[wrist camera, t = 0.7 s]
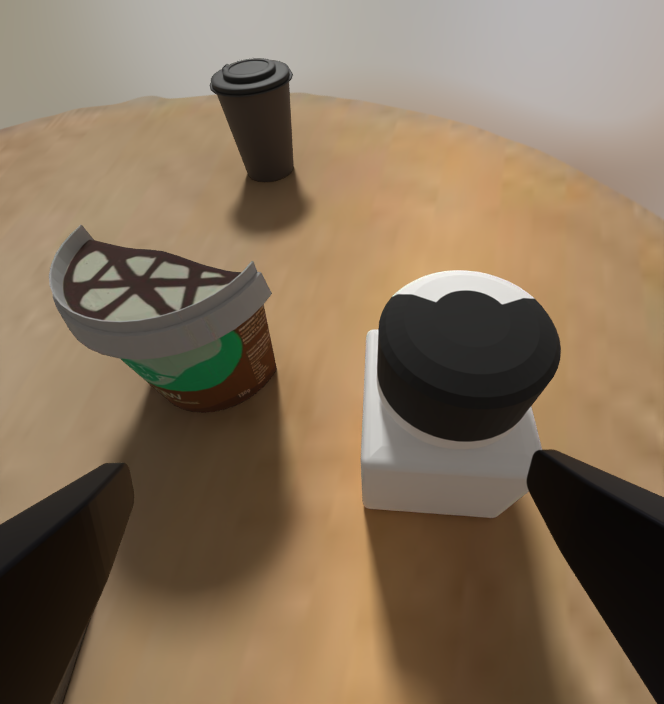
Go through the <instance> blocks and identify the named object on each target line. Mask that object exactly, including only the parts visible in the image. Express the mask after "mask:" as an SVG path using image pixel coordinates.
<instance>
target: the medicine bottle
mask: <svg viewBox="0 0 664 704" xmlns="http://www.w3.org/2000/svg"><path fill="white" fill-rule="evenodd" d="M560 353H561V347H560V340H559V336H558V333H557V330H556V328H555V326H554V324H553V322H552V320H551V319H550V317H549V315H548V314H547V313H546V311H545V310H544V308H543V307H542V306H541V305H540V304H539V303H538V302H537V301H536V300H535V299H534V298H533V297H532V296H531V295H530V294H528V293H527V292H526V291H524V290H523V289H521V288H520V287H518V286H516V285H514V284H512V283H511V282H509V281H506V280H504V279H501V278H499V277H496V276H493V275H489V274H485V273H480V272H474V271H462V270H454V271H443V272H437V273H433V274H430V275H426V276H424V277H421V278H419V279H417V280H415V281H413V282H411V283H409V284H407V285H406V286H404V287H403V288H401V289H400V290H399V291H397V292H396V293H395V294H394V295H393V296H392V297H391V299H390V300H389V301H388V303H387V304H386V306H385V308H384V310H383V311H382V314H381V317H380V321H379V329H378V330H370V331H369V332H368V334H367V336H366V355H365V377H364V399H363V421H362V443H361V478H362V501H363V505H364V506H365V507H366V508H369V509H380V510H393V511H406V512H420V513H433V514H446V515H459V516H472V517H486V518H495V517H497V516H498V515H500V514H501V513H502V512H503V511H505V510H506V509H507V508H508V507H510V506H511V505H512V504H514V503H515V502H516V501H517V500H519V499H520V498H521V497H522V496H524V495H525V494H526V493H527V492H529V490H528V488H527V483H526V479H527V475H528V471H529V467H530V463H531V460H532V456H533V454H534V452H535V451H537V450H542V447H541V443H540V439H539V435H538V431H537V427H536V423H535V419H534V415H533V411H532V407H531V406H532V404H533V403H534V402H535V400H536V399H537V398H538V396H539V395H540V394H541V393H542V391H543V390H544V389H545V387H546V386H547V385H548V383H549V382H550V381H551V380H552V378H553V377H554V375H555V373H556V371H557V369H558V365H559V361H560Z"/></svg>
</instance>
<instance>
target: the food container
mask: <svg viewBox="0 0 664 704" xmlns="http://www.w3.org/2000/svg"><path fill="white" fill-rule="evenodd" d="M49 282H50V288H51V290H52V293H53V299H54V302H55V305H56V307H57V309H58V311H59V313H60V314H61V316H62V318H63V319H64V321H65V323H66V324H67V326H68V328H69V330H70V331H71V332H72V334H73V335H74V336H75V337H76V339H77V340H78V341H79V342H81V343H82V344H84V345H85V346H86V347H88V348H89V349H91V350H94V351H96V352H98V353H100V354H103V355H107V356H111V357H116V358H120V359H121V360H122V361H123V362H125V363H126V364H127V365H128V366H129V367H130V368H132V369H133V370H134V371H135V372H136V373H137V374H139V375H140V376H141V377H142V378H143V379H144V380H146V381H147V382H148V383H149V384H150V385H151V386H153V387H154V388H155V389H156V390H157V391H158V392H160V393H161V394H162V395H163V396H164V397H165V398H167V399H168V400H169V401H170V402H171V403H173V404H174V405H175V406H177V407H179V408H182V409H184V410H188V411H192V412H214V411H219V410H224V409H227V408H230V407H233V406H235V405H237V404H239V403H241V402H243V401H245V400H247V399H248V398H250V397H251V396H253V395H254V394H256V393H257V392H258V391H259V390H260V389H261V388H262V387H264V385H265V384H266V383H267V382H268V381H269V380H270V379H271V377H272V376H273V374H274V373H275V371H276V369H277V368H276V363H275V358H274V353H273V348H272V343H271V338H270V333H269V329H268V324H267V319H266V314H265V309H264V303H265V302H266V300H267V299H268V298H269V297H270V295H271V294H272V293H271V291H270V289H269V287H268V285H267V283H266V281H265V279H264V277H263V275H262V273H261V272H257V270H256V267H255V265H254V262H253V261H252V262H251V263H250V264H249V265H248V266H247V267H246V268H245V269H244V271H243V272H242V273H241V272H231V271H225V270H221V269H217V268H213V267H209V266H206V265H202V264H199V263H196V262H194V261H191V260H188V259H185V258H182V257H180V256H177V255H173V254H170V253H167V252H163V251H156V250H146V249H133V248H125V247H120V246H116V245H111V244H107V243H103V242H99V241H95V240H94V239H93V238H92V237H91V236H90V234H89V233H88V232H87V231H86V229H85V228H84V227H83V226H82V225H80V226H79V227H78V228H77V229H76V230H74V231H73V232H72V233H71V234H70V235H69V237H68V238H67V239H66V240H65V241H64V242H63V243H62V245H61V246H60V248H59V250H58V251H57V253H56V254H55V257H54V259H53V261H52V264H51V268H50V273H49Z"/></svg>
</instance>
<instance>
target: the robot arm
mask: <svg viewBox="0 0 664 704" xmlns="http://www.w3.org/2000/svg"><path fill="white" fill-rule="evenodd" d="M526 483H527V488H528V490H529V492H530V494H531V496H532V498H533V500H534V502H535V504H536V506H537V508H538V510H539V512H540V514H541V515H542V517H543V519H544V521H545V523H546V525H547V527H548V529H549V531H550V533H551V535H552V537H553V539H554V540H555V542H556V544H557V546H558V548H559V550H560V551H561V553H562V555H563V556H564V558H565V560H566V561H567V563H568V565H569V566H570V568H571V569H572V571H573V572H574V574H575V576H576V577H577V579H578V580H579V582H580V583H581V585H582V587H583V588H584V590H585V591H586V593H587V594H588V596H589V598H590V599H591V601H592V602H593V604H594V605H595V607H596V609H597V610H598V612H599V613H600V615H601V616H602V618H603V620H604V621H605V623H606V624H607V626H608V627H609V629H610V630H611V632H612V634H613V635H614V637H615V638H616V640H617V641H618V643H619V645H620V646H621V648H622V649H623V651H624V652H625V654H626V656H627V657H628V659H629V660H630V662H631V663H632V665H633V667H634V668H635V670H636V671H637V673H638V674H639V676H640V678H641V679H642V681H643V682H644V684H645V685H646V687H647V688H648V690H649V692H650V693H651V695H652V696H653V698H654V699H655V701H656V703H657V704H664V497H662V496H659V495H657V494H655V493H653V492H650V491H648V490H646V489H643V488H641V487H639V486H637V485H634V484H632V483H630V482H627V481H625V480H623V479H621V478H618V477H616V476H614V475H611V474H609V473H607V472H605V471H602V470H600V469H598V468H595V467H593V466H591V465H589V464H586V463H584V462H582V461H579V460H577V459H575V458H572V457H570V456H568V455H566V454H563V453H561V452H559V451H556V450H552V449H551V450H537V451H535V452H534V454H533V456H532V460H531V463H530V467H529V471H528V475H527V479H526ZM133 503H134V491H133V486H132V481H131V475H130V470H129V467H128V465H127V464H125V463H106V464H103V465H101V466H99V467H98V468H96V469H94V470H93V471H91V472H89V473H87V474H86V475H84V476H82V477H81V478H79V479H77V480H76V481H74V482H72V483H70V484H69V485H67V486H65V487H64V488H62V489H60V490H58V491H57V492H55V493H53V494H52V495H50V496H48V497H47V498H45V499H43V500H41V501H40V502H38V503H36V504H35V505H33V506H31V507H30V508H28V509H26V510H24V511H23V512H21V513H19V514H18V515H16V516H14V517H13V518H11V519H9V520H7V521H6V522H4V523H2V524H1V525H0V704H51V702H52V700H53V698H54V696H55V693H56V691H57V689H58V687H59V685H60V683H61V680H62V678H63V676H64V674H65V672H66V669H67V667H68V665H69V663H70V661H71V659H72V656H73V654H74V652H75V650H76V648H77V646H78V643H79V641H80V639H81V637H82V635H83V633H84V630H85V628H86V626H87V624H88V622H89V620H90V617H91V615H92V613H93V611H94V609H95V607H96V604H97V602H98V600H99V598H100V596H101V593H102V591H103V589H104V587H105V584H106V582H107V579H108V577H109V574H110V571H111V569H112V566H113V563H114V560H115V557H116V554H117V551H118V548H119V545H120V542H121V540H122V537H123V534H124V531H125V528H126V525H127V522H128V519H129V516H130V513H131V510H132V507H133Z"/></svg>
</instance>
